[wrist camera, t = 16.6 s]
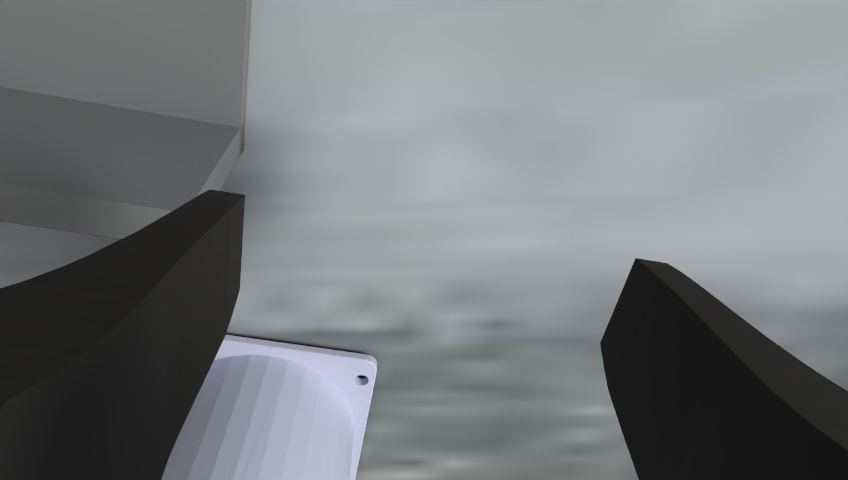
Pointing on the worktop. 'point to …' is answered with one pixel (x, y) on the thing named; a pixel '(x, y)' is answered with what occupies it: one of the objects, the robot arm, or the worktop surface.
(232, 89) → the case
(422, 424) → the worktop surface
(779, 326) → the worktop surface
